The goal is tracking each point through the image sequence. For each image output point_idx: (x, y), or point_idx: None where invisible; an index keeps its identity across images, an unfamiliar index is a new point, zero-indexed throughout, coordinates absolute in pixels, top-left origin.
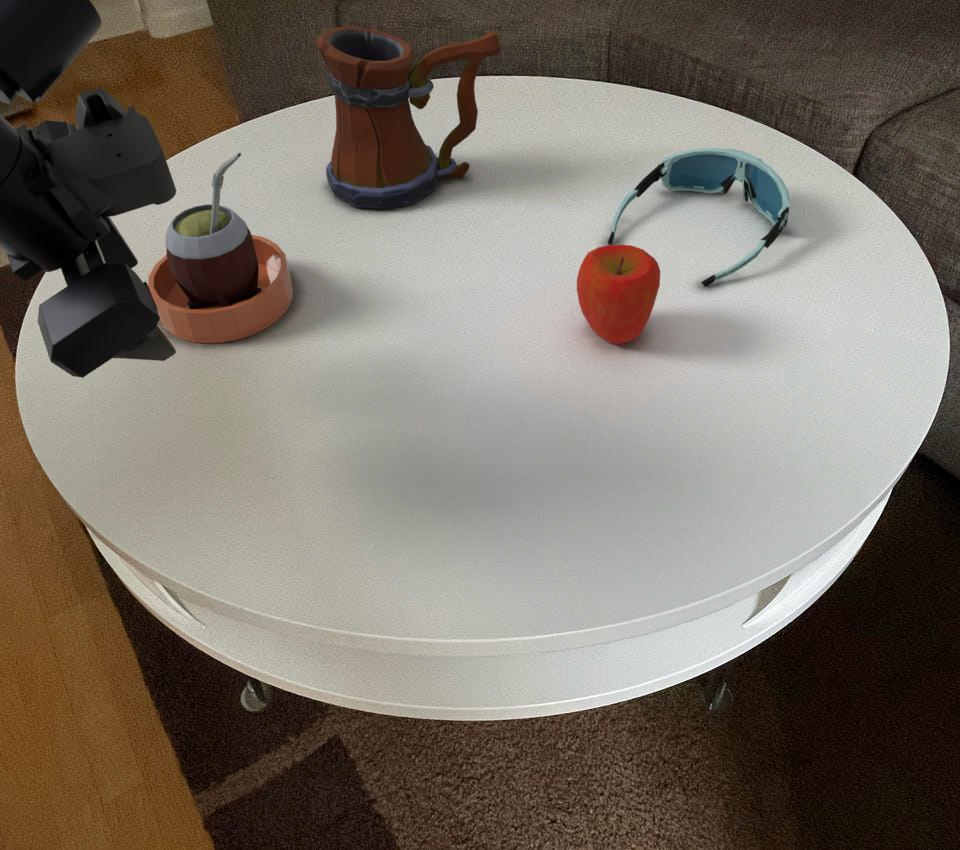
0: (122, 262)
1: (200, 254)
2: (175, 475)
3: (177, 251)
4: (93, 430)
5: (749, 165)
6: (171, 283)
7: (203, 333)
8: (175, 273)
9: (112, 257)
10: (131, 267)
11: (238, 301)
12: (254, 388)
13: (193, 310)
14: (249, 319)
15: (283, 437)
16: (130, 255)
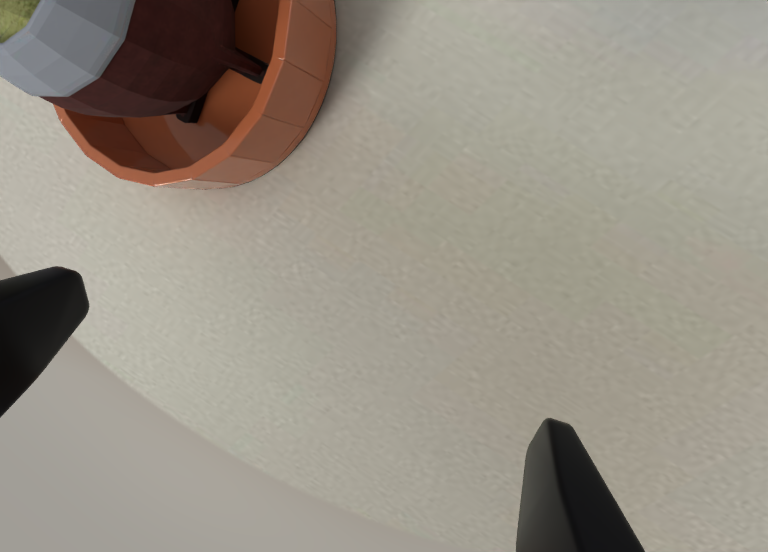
0: (51, 329)
1: (109, 29)
2: (594, 414)
3: (65, 81)
4: (363, 432)
5: None
6: None
7: (280, 145)
8: (119, 116)
9: (12, 366)
10: (83, 297)
11: None
12: (488, 144)
13: (233, 138)
14: (314, 37)
15: (695, 183)
16: (33, 299)
